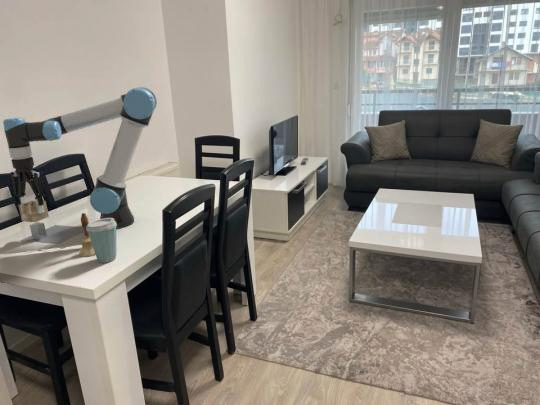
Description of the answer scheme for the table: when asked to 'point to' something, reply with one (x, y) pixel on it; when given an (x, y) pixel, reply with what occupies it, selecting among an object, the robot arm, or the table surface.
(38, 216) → the hollow wooden cube frame
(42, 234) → the steel block
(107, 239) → the disposable coffee cup
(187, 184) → the table surface
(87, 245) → the hand bell
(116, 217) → the robot arm
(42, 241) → the base board
